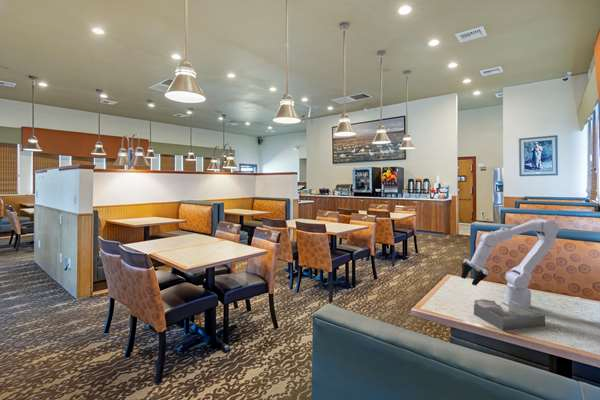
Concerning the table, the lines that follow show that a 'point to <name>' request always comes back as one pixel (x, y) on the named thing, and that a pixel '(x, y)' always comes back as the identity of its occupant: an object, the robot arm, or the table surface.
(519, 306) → the sliding jaw
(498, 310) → the stone block
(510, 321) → the frame
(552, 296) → the table surface
